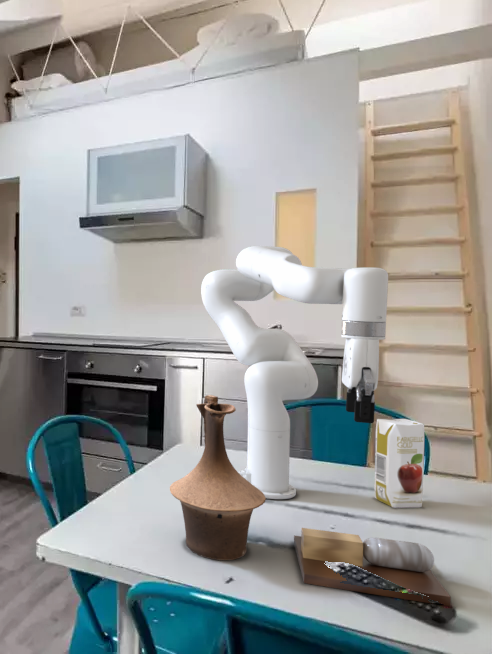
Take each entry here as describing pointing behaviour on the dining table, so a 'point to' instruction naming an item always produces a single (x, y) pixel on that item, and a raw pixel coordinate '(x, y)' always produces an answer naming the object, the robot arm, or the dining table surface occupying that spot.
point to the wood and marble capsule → (365, 550)
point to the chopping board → (412, 580)
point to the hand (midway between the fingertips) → (359, 417)
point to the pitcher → (216, 494)
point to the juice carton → (399, 462)
